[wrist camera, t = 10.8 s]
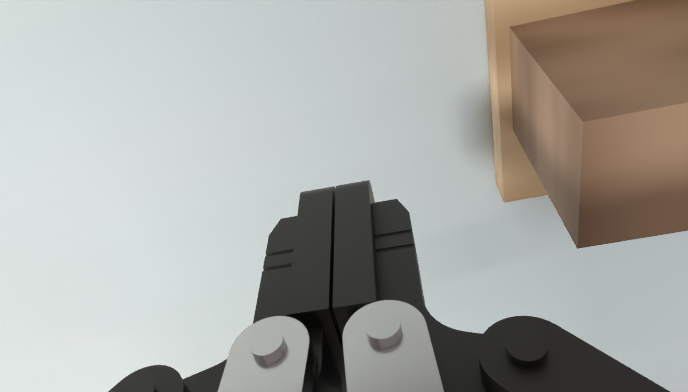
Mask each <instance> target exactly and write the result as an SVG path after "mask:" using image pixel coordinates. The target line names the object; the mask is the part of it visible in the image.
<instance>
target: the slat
mask: <svg viewBox="0 0 688 392" xmlns="http://www.w3.org/2000/svg"><path fill="white" fill-rule="evenodd" d="M509 36H510V62H511V87H512V113H513V131H514V133H515V135H516V137H517V138H518V140H519V142H520V144H521V146H522V148H523V149H524V151H525V153H526V155H527V157H528V159H529V160H530V162H531V164H532V166H533V168H534V170H535V171H536V173H537V175H538V177H539V179H540V181H541V183H542V184H543V186H544V188H545V190H546V192H547V194H548V195H549V197H550V199H551V201H552V203H553V205H554V206H555V208H556V210H557V212H558V214H559V216H560V217H561V219H562V221H563V223H564V225H565V227H566V229H567V230H568V232H569V234H570V236H571V238H572V240H573V241H574V243H575V245H576V247H577V248H583V247H590V246H596V245H602V244H608V243H614V242H620V241H626V240H632V239H638V238H644V237H651V236H657V235H663V234H669V233H675V232H681V231H687V230H688V0H634V1H629V2H624V3H620V4H615V5H610V6H605V7H601V8H596V9H591V10H587V11H582V12H577V13H572V14H568V15H563V16H558V17H554V18H549V19H544V20H539V21H535V22H530V23H525V24H521V25H516V26H511V27H509Z"/></svg>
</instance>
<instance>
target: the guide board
mask: <svg viewBox="0 0 688 392" xmlns="http://www.w3.org/2000/svg"><path fill="white" fill-rule="evenodd" d="M629 1H634V0H485V12H486V28H487V43H488V59H489V75H490V91H491V107H492V123H493V139H494V154H495V170H496V184H497V187H498V189H499V191H500V194H501V196H502V199H503V201H504V202H510V201H516V200H521V199H527V198H533V197H538V196H544V195H548V194H547V192H546V190H545V188H544V186H543V184H542V183H541V181H540V179H539V177H538V175H537V173H536V171H535V170H534V168H533V166H532V164H531V162H530V160H529V159H528V157H527V155H526V153H525V151H524V149H523V148H522V146H521V144H520V142H519V140H518V138H517V137H516V135H515V133H514V131H513V113H512V87H511V62H510V36H509V27H511V26H516V25H521V24H525V23H530V22H535V21H539V20H544V19H549V18H554V17H558V16H563V15H568V14H572V13H577V12H582V11H587V10H591V9H596V8H601V7H605V6H610V5H615V4H620V3H624V2H629Z"/></svg>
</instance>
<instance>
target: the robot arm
mask: <svg viewBox="0 0 688 392" xmlns="http://www.w3.org/2000/svg"><path fill="white" fill-rule="evenodd" d="M263 268H264V271H263V272H262V277H261V283H260V288H259V294H258V299H257V305H256V310H255V316H254V321H253V324H252V325H250V326H249V327H248V328H246V329H245V330H244V331H243V332H242V333H241V334H240V335H239V336H238V337H237V338H236V340H235V341H234V343H233V345H232V347H231V350H230V352H229V356H228V359H226V360H225V361H223V362H222V363H220V364H218V365H216V366H213V367H211V368H209V369H206V370H204V371H202V372H199V373H197V374H195V375H192V376H190V377H187V378H185V379H182V378H181V376H180V374H179V373H178V372H177V371H176V370H175V369H173V368H171V367H169V366H165V365H154V366H149V367H145V368H142V369H139V370H137V371H135V372H133V373H131V374H130V375H128V376H127V377H125V378H124V379H123V380H121V381H120V382H119V383H118V384H117V385H116V386H114V387H113V388H112V389H111V390H110V391H109V392H670V391H668V390H666V389H665V388H663V387H661V386H659V385H658V384H656V383H654V382H653V381H651V380H649V379H648V378H646V377H644V376H642V375H641V374H639V373H637V372H636V371H634V370H632V369H631V368H629V367H627V366H625V365H624V364H622V363H620V362H619V361H617V360H615V359H614V358H612V357H610V356H608V355H607V354H605V353H603V352H602V351H600V350H598V349H596V348H595V347H593V346H591V345H590V344H588V343H586V342H585V341H583V340H581V339H579V338H578V337H576V336H574V335H573V334H571V333H569V332H568V331H566V330H564V329H562V328H561V327H559V326H557V325H556V324H554V323H552V322H550V321H547V320H544V319H541V318H537V317H532V316H515V317H509V318H506V319H503V320H500V321H498V322H496V323H495V324H493V325H492V326H490V327H489V328H488V329H487V330H486V331H485V332H484V334H479V333H472V332H465V331H460V330H455V329H452V328H449V327H447V326H445V325H443V324H441V323H440V322H438V321H437V320H436V319H434V318H433V317H432V316H431V315H430V313H429V312H428V311H427V309H426V307H425V302H424V296H423V290H422V284H421V278H420V271H419V265H418V260H417V254H416V248H415V243H414V237H413V232H412V226H411V220H410V215H409V212H408V211H407V209H406V208H405V207H404V206H403V205H402V204H401V203H400V202H399V201H398V200H397V199H394V200H388V201H382V202H376V203H375V201H374V197H373V192H372V188H371V184H370V181H369V180H368V181H362V182H356V183H350V184H345V185H339V186H336V189H335V187H328V188H323V189H317V190H311V191H305V192H301V194H300V200H299V208H298V216H295V217H289V218H283V219H281V220H280V221H279V222H278V224H277V225H276V227H275V228H274V229H273V231H272V232H271V234H270V235H269V238H268V244H267V249H266V257H265V261H264V266H263Z"/></svg>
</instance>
